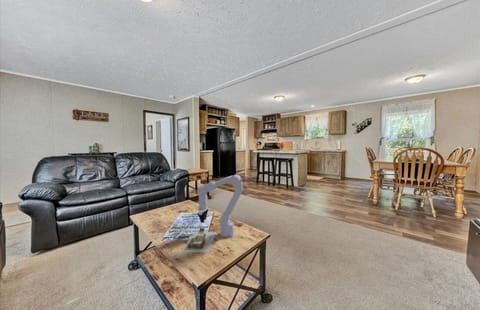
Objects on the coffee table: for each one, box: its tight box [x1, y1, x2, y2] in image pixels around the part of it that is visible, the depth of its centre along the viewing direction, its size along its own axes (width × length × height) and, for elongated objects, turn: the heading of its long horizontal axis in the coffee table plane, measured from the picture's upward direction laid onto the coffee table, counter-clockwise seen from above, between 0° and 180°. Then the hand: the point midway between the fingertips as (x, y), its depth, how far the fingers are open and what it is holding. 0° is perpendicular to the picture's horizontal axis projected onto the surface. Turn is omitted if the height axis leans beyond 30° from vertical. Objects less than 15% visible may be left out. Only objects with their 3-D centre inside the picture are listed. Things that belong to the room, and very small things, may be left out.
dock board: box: [181, 231, 217, 253], centre depth 114 cm, size 16×24×1 cm, turn 176°
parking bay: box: [188, 238, 205, 249], centre depth 109 cm, size 9×7×2 cm
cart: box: [196, 227, 206, 241], centre depth 117 cm, size 6×5×6 cm
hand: (203, 220), depth 124 cm, fingers open, 5 cm apart
